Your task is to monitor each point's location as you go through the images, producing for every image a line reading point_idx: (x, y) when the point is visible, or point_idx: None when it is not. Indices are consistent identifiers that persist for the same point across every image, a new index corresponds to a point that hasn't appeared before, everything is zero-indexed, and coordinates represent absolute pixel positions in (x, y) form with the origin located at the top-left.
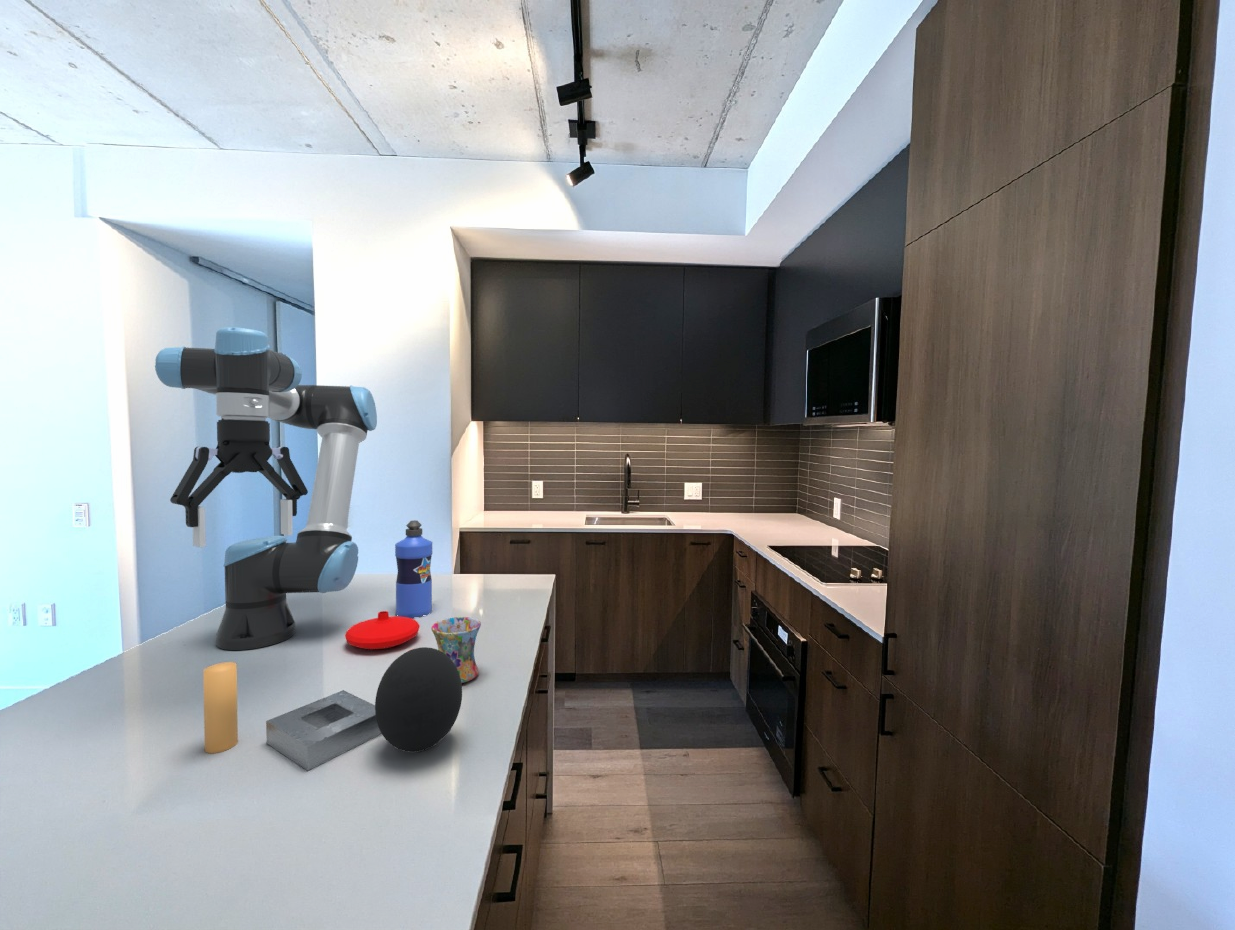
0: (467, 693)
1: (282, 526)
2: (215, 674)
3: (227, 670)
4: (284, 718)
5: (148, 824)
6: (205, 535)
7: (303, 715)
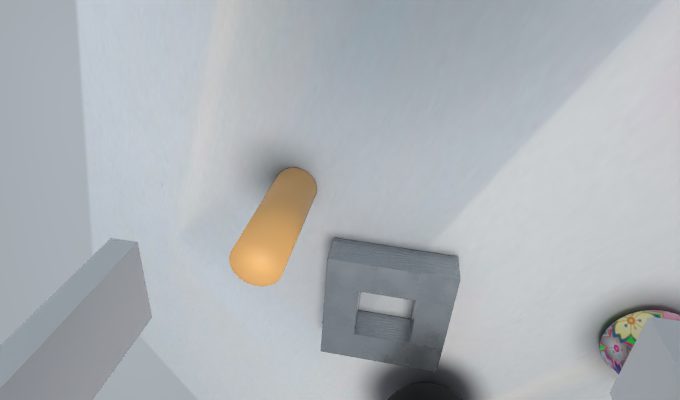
0: (587, 378)
1: (666, 382)
2: (241, 277)
3: (259, 285)
4: (346, 275)
5: (186, 266)
6: (116, 366)
7: (367, 290)
